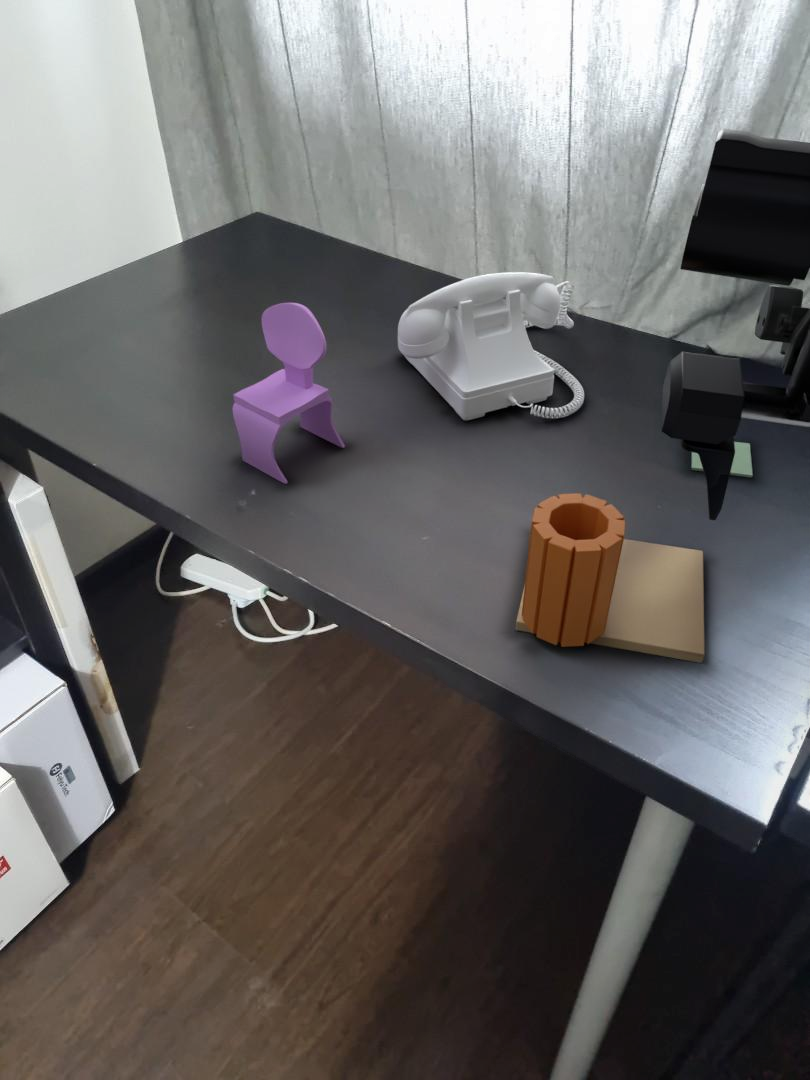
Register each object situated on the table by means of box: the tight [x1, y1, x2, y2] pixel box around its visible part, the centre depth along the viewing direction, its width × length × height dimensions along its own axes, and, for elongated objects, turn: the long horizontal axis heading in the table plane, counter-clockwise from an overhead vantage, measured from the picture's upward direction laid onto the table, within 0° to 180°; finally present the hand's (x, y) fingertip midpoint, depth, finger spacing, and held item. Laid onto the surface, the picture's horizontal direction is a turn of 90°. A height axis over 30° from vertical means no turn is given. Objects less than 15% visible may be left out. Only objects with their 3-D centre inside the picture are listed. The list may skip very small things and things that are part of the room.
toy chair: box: [232, 302, 346, 485], centre depth 78 cm, size 8×9×15 cm
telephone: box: [397, 271, 586, 421], centre depth 90 cm, size 25×21×12 cm
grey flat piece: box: [690, 441, 754, 479], centre depth 82 cm, size 6×6×1 cm
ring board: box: [515, 538, 706, 664], centre depth 66 cm, size 14×12×5 cm
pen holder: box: [522, 492, 627, 648], centre depth 61 cm, size 6×7×10 cm
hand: (786, 528), depth 53 cm, fingers open, 9 cm apart
